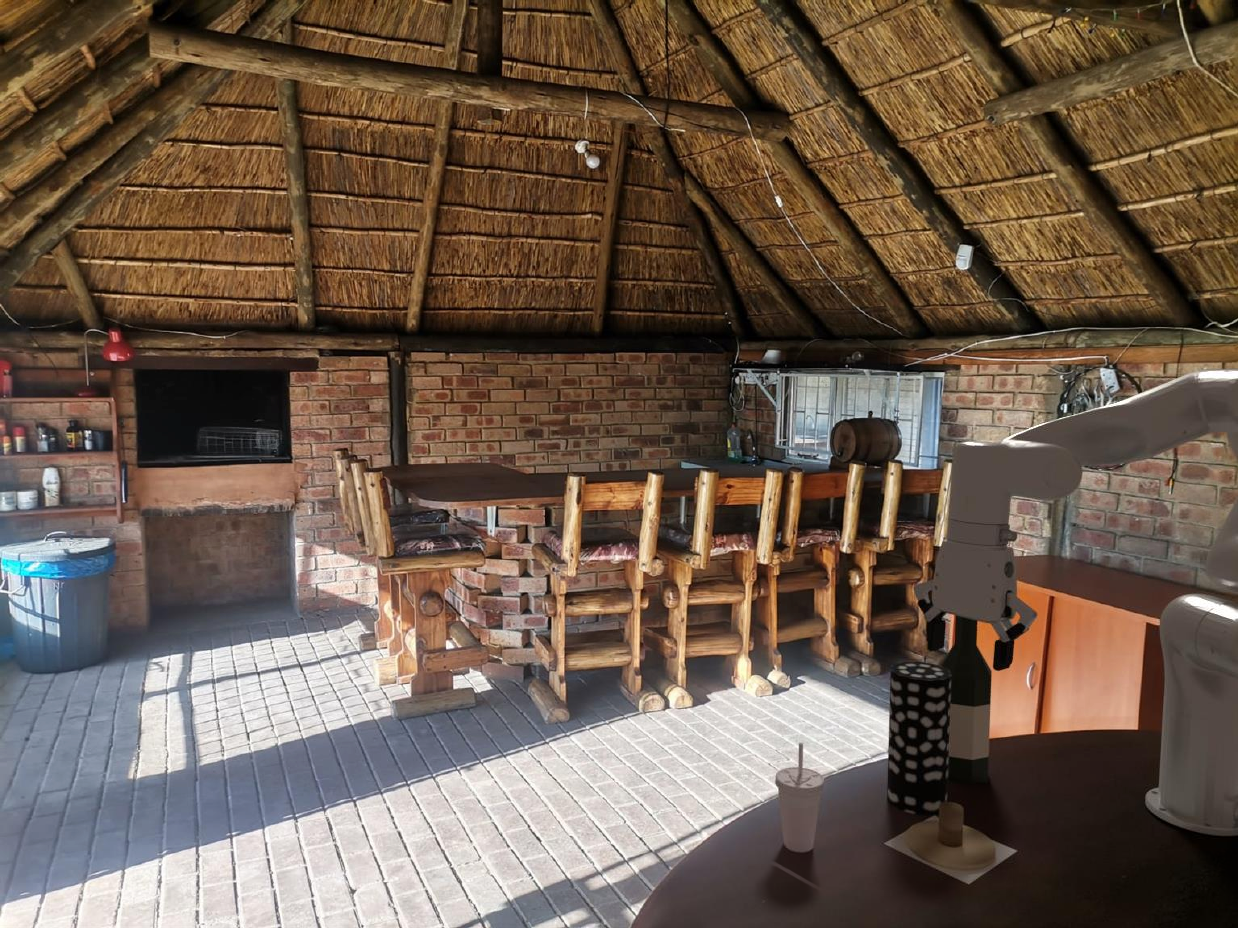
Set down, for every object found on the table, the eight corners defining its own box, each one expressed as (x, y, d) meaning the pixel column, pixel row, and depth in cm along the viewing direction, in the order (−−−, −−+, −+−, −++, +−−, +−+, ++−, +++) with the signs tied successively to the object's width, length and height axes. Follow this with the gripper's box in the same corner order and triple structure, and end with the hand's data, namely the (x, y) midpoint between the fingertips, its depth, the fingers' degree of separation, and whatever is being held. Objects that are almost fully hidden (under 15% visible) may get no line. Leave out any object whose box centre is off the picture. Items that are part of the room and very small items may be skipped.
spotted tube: (940, 822, 121) (944, 684, 119) (880, 807, 125) (883, 673, 123) (952, 798, 128) (956, 667, 126) (895, 785, 132) (898, 658, 130)
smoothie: (825, 839, 116) (827, 739, 115) (820, 863, 110) (822, 758, 109) (778, 831, 119) (779, 732, 117) (770, 855, 112) (771, 751, 111)
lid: (1011, 850, 113) (1013, 810, 112) (967, 880, 106) (968, 837, 105) (935, 817, 121) (936, 780, 121) (889, 843, 115) (890, 804, 114)
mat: (1017, 853, 113) (1017, 850, 113) (968, 886, 105) (968, 883, 105) (933, 817, 122) (933, 815, 122) (883, 846, 115) (884, 843, 115)
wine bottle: (998, 786, 132) (1006, 593, 129) (943, 785, 132) (950, 593, 129) (977, 762, 140) (983, 581, 137) (925, 762, 140) (931, 581, 137)
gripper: (1055, 542, 111) (1044, 672, 112) (935, 522, 124) (927, 638, 126) (1025, 547, 106) (1014, 682, 108) (904, 526, 120) (896, 646, 121)
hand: (967, 658), depth 117 cm, fingers open, 9 cm apart
